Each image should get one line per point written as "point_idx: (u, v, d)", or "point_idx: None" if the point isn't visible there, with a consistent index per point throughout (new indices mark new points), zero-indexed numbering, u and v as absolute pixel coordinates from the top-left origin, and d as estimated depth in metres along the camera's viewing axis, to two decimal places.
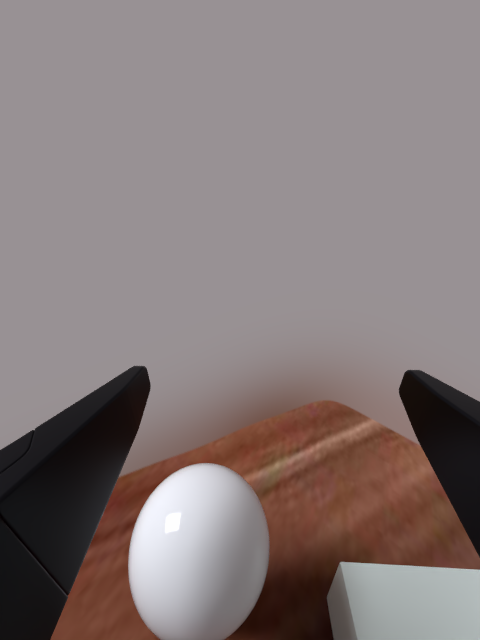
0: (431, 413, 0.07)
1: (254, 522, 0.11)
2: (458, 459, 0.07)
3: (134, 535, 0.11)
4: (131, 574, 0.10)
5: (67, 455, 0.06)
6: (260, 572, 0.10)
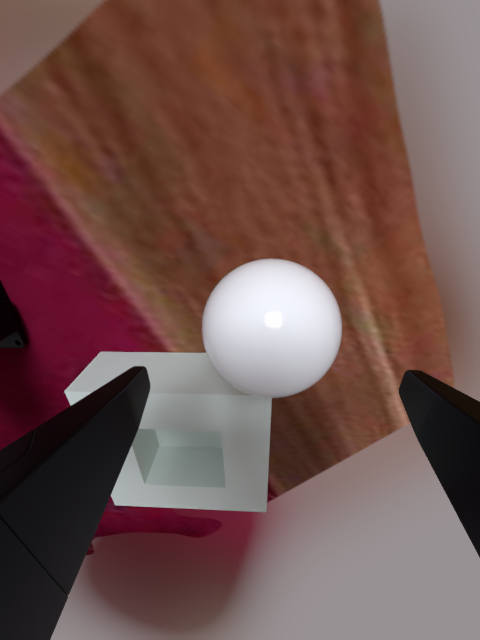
0: (431, 413, 0.07)
1: None
2: (459, 459, 0.07)
3: (257, 288, 0.10)
4: (229, 290, 0.10)
5: (67, 455, 0.06)
6: None
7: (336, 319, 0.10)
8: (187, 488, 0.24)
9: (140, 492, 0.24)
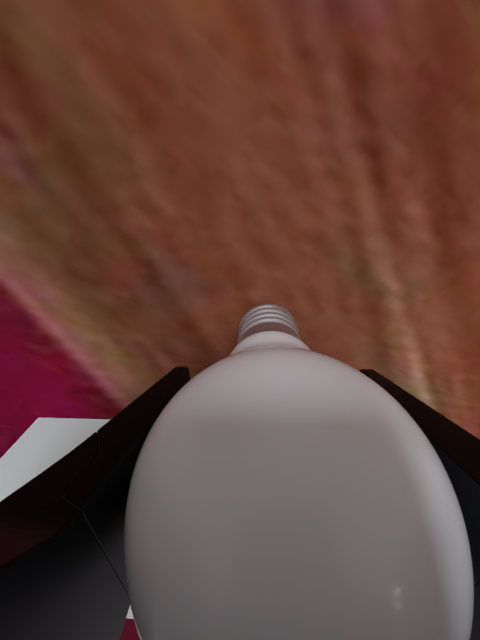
0: None
1: None
2: None
3: (251, 512, 0.03)
4: (174, 481, 0.04)
5: (133, 457, 0.06)
6: None
7: None
8: None
9: None
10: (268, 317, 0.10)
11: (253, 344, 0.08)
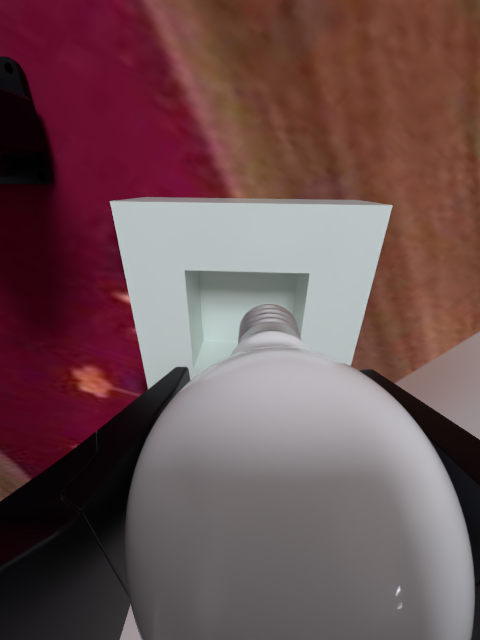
0: None
1: None
2: None
3: (252, 512, 0.03)
4: (175, 482, 0.04)
5: (134, 457, 0.06)
6: None
7: None
8: None
9: None
10: (269, 317, 0.10)
11: (254, 344, 0.08)
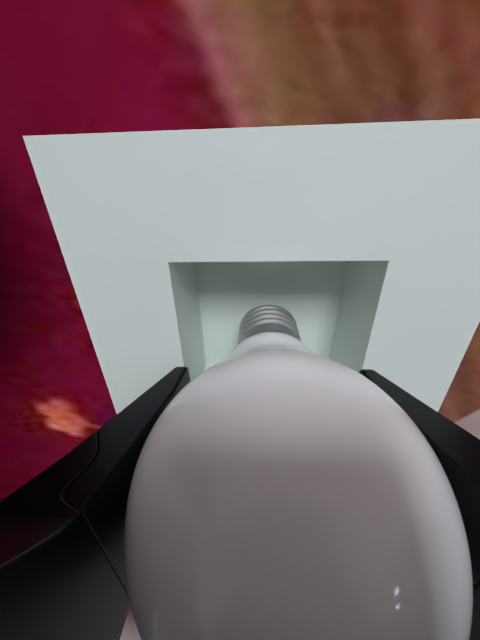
0: None
1: None
2: None
3: (250, 515, 0.03)
4: (174, 483, 0.04)
5: (133, 457, 0.06)
6: None
7: (471, 565, 0.04)
8: None
9: None
10: (269, 318, 0.10)
11: (253, 345, 0.08)
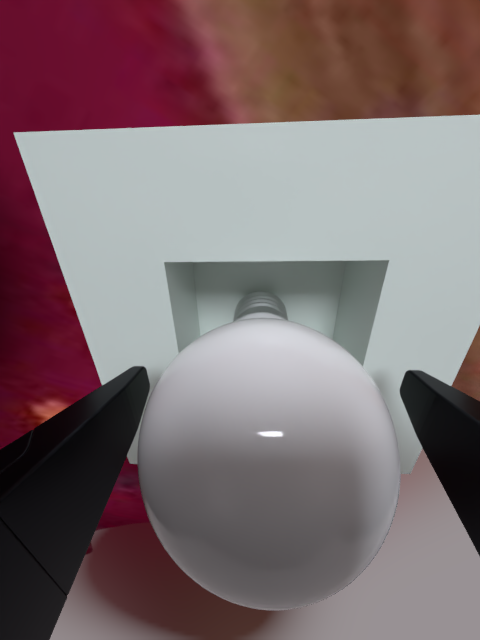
0: (432, 413, 0.07)
1: None
2: (459, 459, 0.07)
3: (229, 414, 0.04)
4: (176, 403, 0.05)
5: (66, 455, 0.06)
6: None
7: (396, 463, 0.05)
8: None
9: None
10: (260, 302, 0.12)
11: None
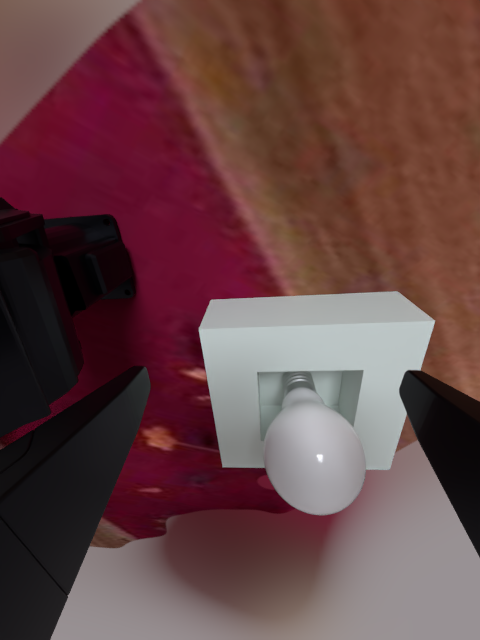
0: (431, 413, 0.07)
1: None
2: (459, 459, 0.07)
3: (308, 451, 0.14)
4: (287, 447, 0.15)
5: (67, 455, 0.06)
6: None
7: (362, 465, 0.15)
8: None
9: (253, 450, 0.23)
10: (299, 378, 0.21)
11: (295, 397, 0.19)
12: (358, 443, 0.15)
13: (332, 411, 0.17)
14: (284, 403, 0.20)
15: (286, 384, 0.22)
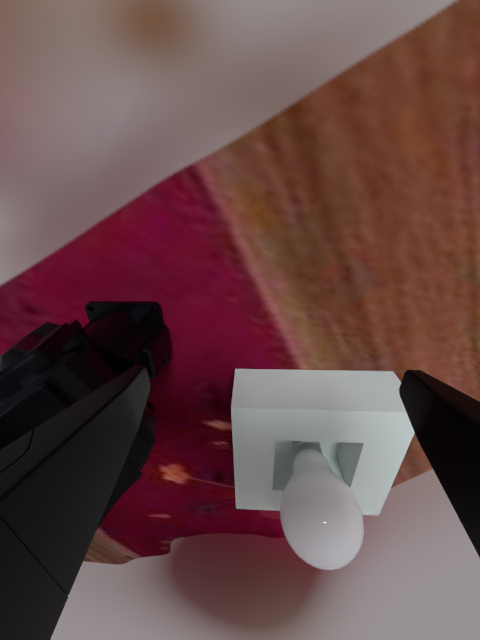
0: (431, 413, 0.07)
1: None
2: (459, 459, 0.07)
3: (320, 521, 0.18)
4: (303, 515, 0.19)
5: (67, 455, 0.06)
6: None
7: (361, 531, 0.19)
8: None
9: (265, 496, 0.27)
10: None
11: (306, 461, 0.23)
12: (359, 512, 0.19)
13: (338, 481, 0.20)
14: (296, 464, 0.23)
15: (296, 443, 0.26)
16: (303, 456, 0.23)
